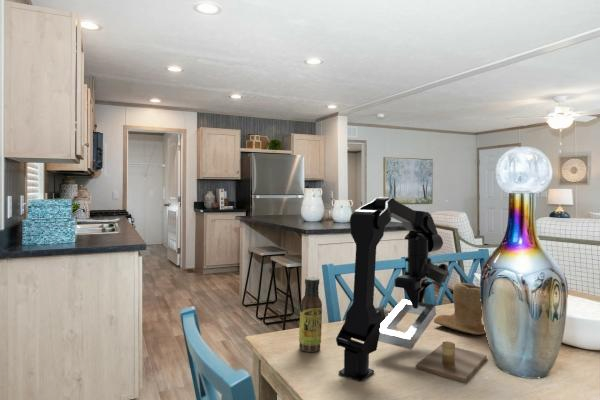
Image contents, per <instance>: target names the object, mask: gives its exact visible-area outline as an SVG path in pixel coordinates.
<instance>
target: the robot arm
mask: <svg viewBox="0 0 600 400" xmlns="http://www.w3.org/2000/svg"><path fill="white" fill-rule="evenodd" d="M392 219H394V220H396V221H398V222H400V223H401V226H402V227H403V228H405V230H407V231H408V233H407V234H406V235H404V236H405V237H404V240H406V241H407V256H406V257H405V258H404V261H405V262H407V271H404V274H403V275H400V276H396V278H395V279H394V282H393V283H394V287H395V288H400V289H404V290H405V293H406V294H407V296H408V299H409V300H410V301H411V304H412V306H413V308H415V309H417V308H418V303H419V302H421V303H424V301H423V300H424V297H425V294H426V291H427V289H428V288H429V287H430V286H431V285H433V284H434V282H435V283H437V284H439V285H442V284H443V283H446V280H447V278H448V276H450V273H449V272H450V270H449V266H448V265H447V264H445V263H441V264H439V265H438V264H433V263H432V259H431V257H429V253H432V252H437V251H439V250H441V249H442V247H443V244H444V240H443V238H442V236H441V235H440V234H438V230H437V227H436V224H435V222H434V221H435V220H434V219H433V217H432V214H431V213H430V212H428V211H423V210H415V209H412V208H410V207H408V206H407V205H405V204H403V203H402V202H399V201H397V200H396V199H395V198H393V197H391V196H378V197H375V198H374V199H372V201H369V202H368V203H366V204H363V205H362V206H360V207H359V208H357V209H355V210H354V211H353V213H351V214H350V218H349V228H350V231H349V232H350V235H351V238H352V240H353V241H354V243H355V258H354V259H355V260H354V262H355V263H354V281H353V294H352V295H353V299H352V304H351V305H350V307H349V308H348V310H347V311H346V313H345V318H344V319H345V320H344V322H343V325H342V326H341V328H340V330H339V332H338V334H337V336H336V337H335V341H336V345H337V347H342V348H344V350H343V353H344V355H343V358H344V359H343V368H342V369H339V370H338V374H339V375H342V376H344V377H347V378H351V379H353V380H356V381H359V382H362V381H364V380H365V379H367V378H368V377H370V376H372V374H374V373H375V370H374V369H372V368H370V354H372V353H374V352H376V351H377V348H378V344H379V341H378V340H379V335H380V328H381V325H380V324H381V323H380V321H381V312H380V311H376V309H375V308H376V307H375V306H374V297H375V279H376V278H375V276H376V263H377V261H376V259H377V246H378V244H379V243H380V241H381V240H382V239H383V236H384V235H385V233H384V232H385V228H386V226H387V225H389V223H390V222H391V221H392ZM429 279H430V280H432V281H433V282H432V281H429Z"/></svg>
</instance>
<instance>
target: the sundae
mask: <svg viewBox="0 0 600 400" xmlns="http://www.w3.org/2000/svg"><path fill="white" fill-rule="evenodd" d="M375 309H376V311H380V312H381V321H380V324H381V323H382V322H383V321H384V320H385V319H386V318H387V316H388V315H389V314H390V313H391V312H392V311H393V310H389V309H388V308H387V307H385V305H384V304H382V305H381V306H379V307H375Z"/></svg>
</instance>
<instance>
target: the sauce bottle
mask: <svg viewBox="0 0 600 400" xmlns="http://www.w3.org/2000/svg"><path fill="white" fill-rule="evenodd" d="M304 285H305V287H304V288H305V290H304V296H303V297H302V299H301V301H300V310H299V327H298V328H299V331H298V334H299V337H298V338H299V339H298V343H299V345H298V346H299V350H301V351H304V352H307V353H315V352H318V351H320V349H321V344H322V328H323V327H322V324H323V323H322V320H323V303H322V300H321V298H320V296H319V293H320V292H319V285H320V278H318V277H315V276H312V277H311V276H310V277H308V276H307V277H305V278H304Z"/></svg>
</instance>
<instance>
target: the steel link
mask: <svg viewBox="0 0 600 400" xmlns="http://www.w3.org/2000/svg"><path fill="white" fill-rule="evenodd" d="M436 309H437V308H436V305H435V304H432V303H425V302H422V303H421V302H419V303H418V308H417V309H415V308H413V306H412V304H411V301H410V299H409V300H408V299H404V298H403V299H401V301H400V302H398V304H397V305H396V306H395V307H394V308H393V309H392V310H391V311H392V312H391V313H390V314H389V315H388V316H387V318H386V319H385V320H384V321H383V322H382V323H380V325H381V328H380V335H379V340H378V342H379V343H380V342H381V343H385V344H388V345H391V346H396V347H400V348H403V349H407V350H410V351H411V350H412V349H413V348H414V347H415V345H416V343H417V342H418V341H419V339H420V338H421V336H422V335H423V334H424V332H425V331H426V329H427V328H428V327H429V325H430V324H431V323H432V321H434V319H435V318H436V316H437V310H436ZM407 314H413V315H418V317H417V318H416V319H415V320H414V322H412V324H411V326H410V327H409V329H408V330H407V331H406V332H402V331H396V330H394V329H395V328H396V327H397V326H398V325H399V324H400V322H401V321H402V319H403V318H405V316H406V315H407Z"/></svg>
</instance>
